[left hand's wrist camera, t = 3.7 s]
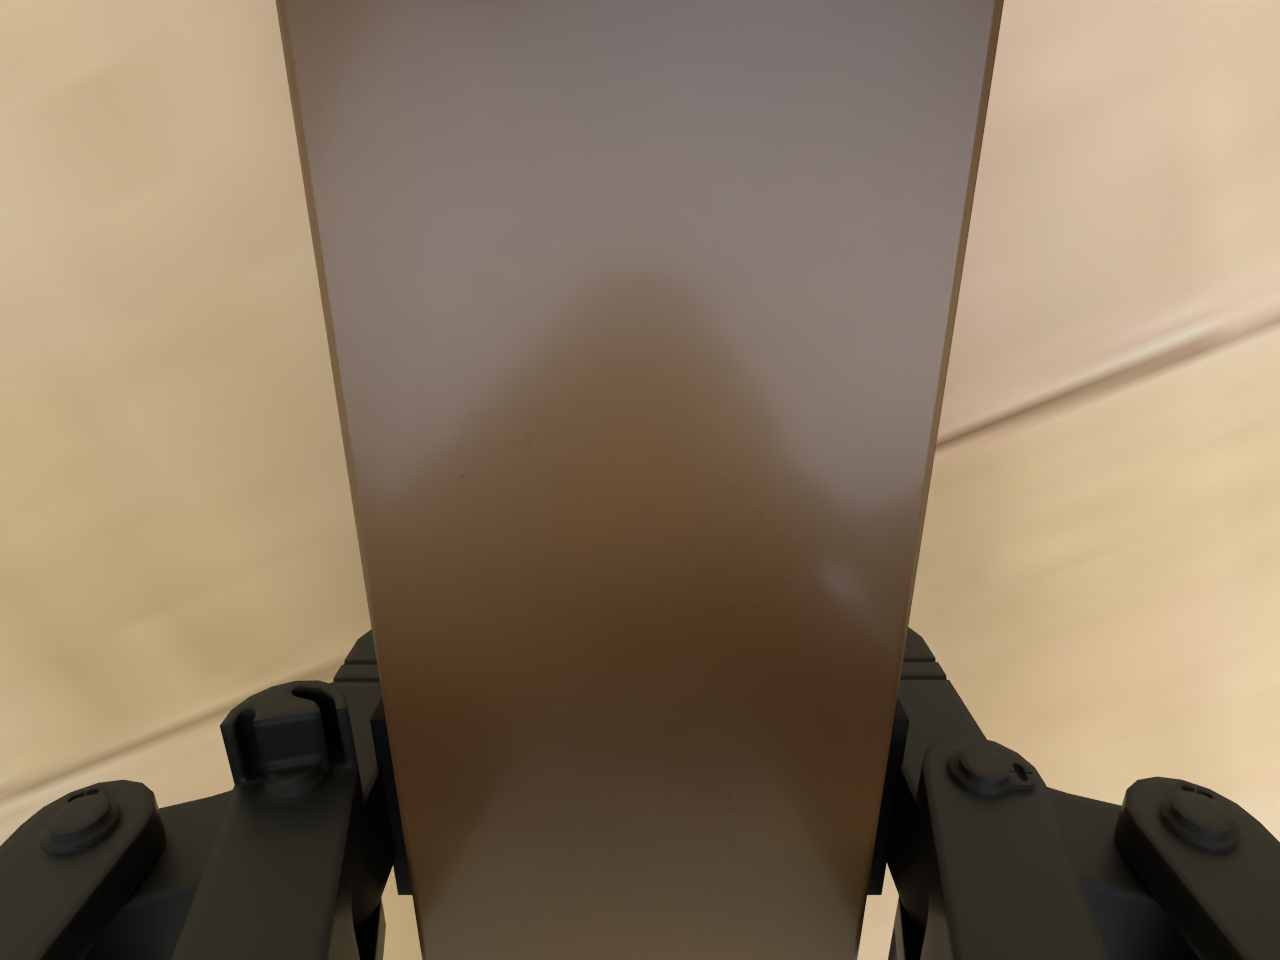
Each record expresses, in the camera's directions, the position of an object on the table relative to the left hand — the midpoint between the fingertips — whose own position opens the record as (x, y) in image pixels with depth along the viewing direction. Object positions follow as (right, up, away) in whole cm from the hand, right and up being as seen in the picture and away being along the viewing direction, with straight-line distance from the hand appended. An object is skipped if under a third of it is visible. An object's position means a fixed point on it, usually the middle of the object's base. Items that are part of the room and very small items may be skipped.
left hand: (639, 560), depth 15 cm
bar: (0, +7, -2) cm, 8 cm away
